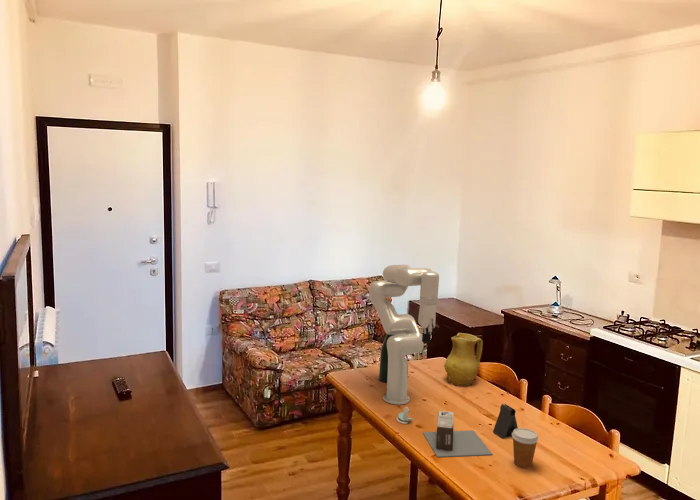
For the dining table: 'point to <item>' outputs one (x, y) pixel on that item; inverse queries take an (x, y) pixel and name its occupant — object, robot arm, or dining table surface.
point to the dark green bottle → (384, 360)
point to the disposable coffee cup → (524, 446)
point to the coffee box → (445, 430)
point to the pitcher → (463, 359)
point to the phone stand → (505, 422)
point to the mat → (460, 444)
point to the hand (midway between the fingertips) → (426, 342)
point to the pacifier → (405, 417)
